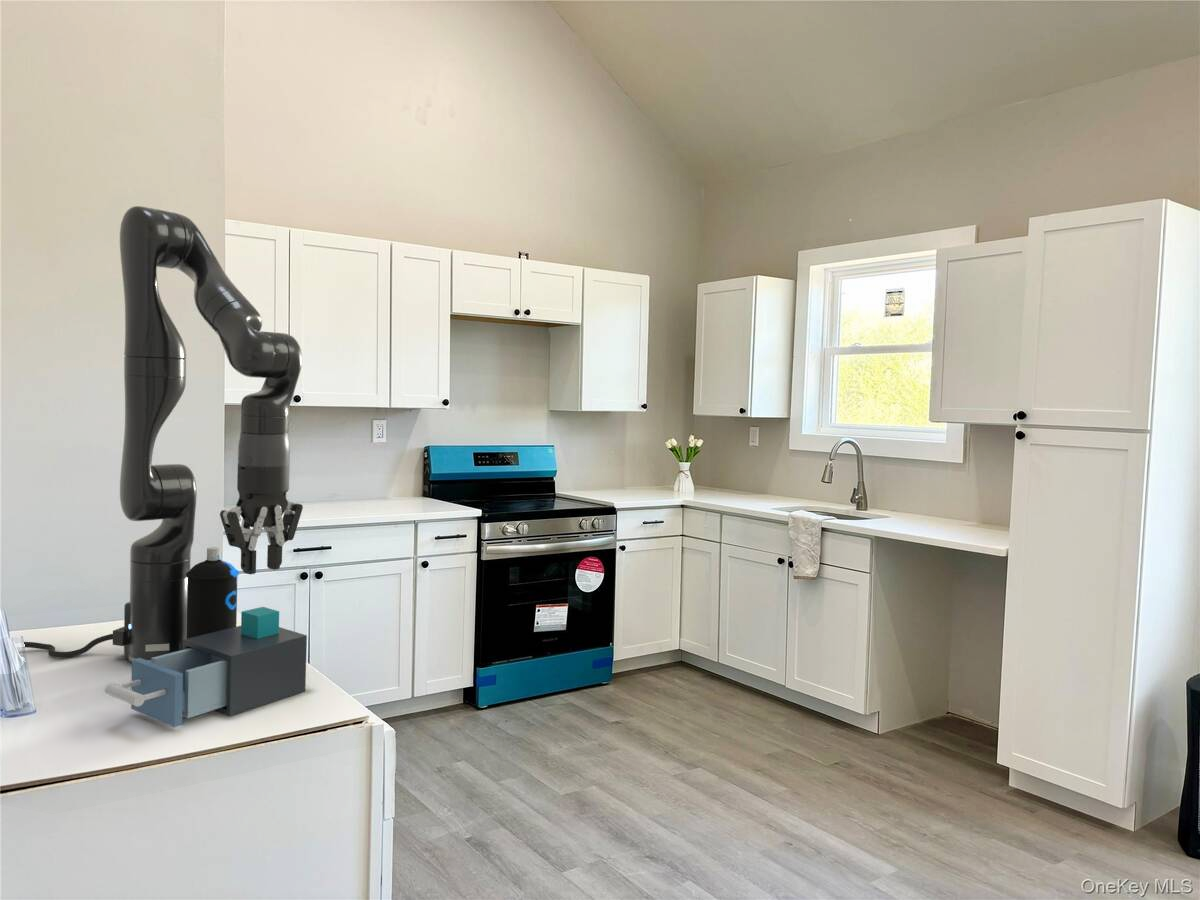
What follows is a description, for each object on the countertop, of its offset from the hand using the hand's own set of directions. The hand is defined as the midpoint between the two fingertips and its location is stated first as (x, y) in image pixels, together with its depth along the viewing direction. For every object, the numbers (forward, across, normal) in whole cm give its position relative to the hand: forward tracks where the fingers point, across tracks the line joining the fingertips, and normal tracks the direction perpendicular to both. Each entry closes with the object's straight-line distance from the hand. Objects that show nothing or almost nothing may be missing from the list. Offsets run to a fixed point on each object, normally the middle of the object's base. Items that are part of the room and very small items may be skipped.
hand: (261, 570), depth 139 cm
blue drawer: (+18, +14, 0) cm, 23 cm away
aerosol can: (+19, -2, -16) cm, 25 cm away
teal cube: (+10, 0, 0) cm, 10 cm away
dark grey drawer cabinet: (+19, +2, 0) cm, 19 cm away
